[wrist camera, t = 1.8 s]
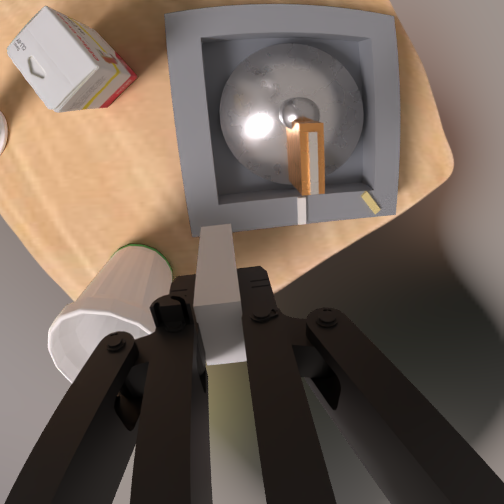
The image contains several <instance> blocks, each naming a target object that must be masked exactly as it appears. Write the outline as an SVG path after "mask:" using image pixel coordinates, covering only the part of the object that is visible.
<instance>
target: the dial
mask: <svg viewBox="0 0 504 504" xmlns="http://www.w3.org/2000/svg"><path fill="white" fill-rule="evenodd" d="M219 113H220V123H221V129H222V132H223V135H224V138H225V141H226V143H227V145H228V147H229V148H230V150H231V152H232V153H233V155H234V156H235V157H236V158H237V159H238V161H239V162H240V163H241V164H242V165H244V166H245V167H246V168H247V169H248V170H250V171H251V172H253V173H254V174H256V175H258V176H260V177H261V178H264V179H266V180H269V181H272V182H276V183H280V184H290V185H292V184H293V186H294V187H295V188H296V189H297V190H298V191H299V193H300V194H301V195H302V196H304V195H315V194H325V177H326V176H328V175H329V174H331V173H333V172H334V171H335V170H337V169H338V168H339V167H340V166H341V165H342V164H343V163H345V162H346V160H347V159H348V158H349V157H350V155H351V154H352V152H353V151H354V149H355V147H356V145H357V143H358V141H359V138H360V135H361V132H362V126H363V114H364V113H363V104H362V99H361V95H360V92H359V89H358V87H357V85H356V83H355V81H354V79H353V78H352V76H351V75H350V73H349V72H348V71H347V69H346V68H345V67H344V66H343V65H342V64H341V63H340V62H339V61H337V60H336V59H335V58H334V57H332V56H331V55H329V54H328V53H326V52H324V51H322V50H320V49H317V48H314V47H311V46H308V45H303V44H293V43H287V44H278V45H273V46H269V47H266V48H264V49H261V50H259V51H257V52H255V53H253V54H252V55H250V56H249V57H247V58H246V59H245V60H244V61H243V62H241V63H240V64H239V65H238V66H237V68H236V69H235V70H234V71H233V73H232V74H231V76H230V77H229V79H228V81H227V82H226V85H225V87H224V89H223V92H222V96H221V100H220V108H219Z"/></svg>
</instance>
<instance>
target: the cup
mask: <svg viewBox="0 0 504 504" xmlns="http://www.w3.org/2000/svg"><path fill="white" fill-rule="evenodd" d="M171 283H172V269H171V266H170V264H169V263H168V261H167V259H166V258H165V257H164V256H163V255H162V254H161V253H160V252H159V251H157V250H156V249H154V248H151V247H149V246H146V245H141V244H129V245H126V246H124V247H122V248H120V249H118V250H117V251H116V252H115V253H114V254H113V255H112V256H111V258H110V259H109V260H108V262H107V263H106V264H105V265H104V266H103V268H102V269H101V270H100V271H99V273H98V274H97V275H96V276H95V277H94V279H93V280H92V281H91V282H90V284H89V285H88V286H87V287H86V289H85V290H84V291H83V292H82V294H81V295H80V296H79V298H78V299H77V300H76V301H75V302H73V303H70V304H67V305H66V306H65V307H64V309H63V310H62V311H61V312H60V313H59V315H58V316H57V317H56V318H55V320H54V322H53V323H52V325H51V327H50V328H49V331H48V332H49V333H48V349H49V352H50V354H51V356H52V359H53V361H54V363H55V365H56V367H57V369H58V370H59V371H60V372H61V373H62V374H63V375H64V376H65V377H66V378H67V379H68V380H69V381H70V382H71V383H73V382H74V380H75V378H76V377H77V375H78V374H79V372H80V371H81V369H82V368H83V366H84V365H85V363H86V362H87V360H88V359H89V357H90V356H91V354H92V353H93V351H94V350H95V348H96V347H97V345H98V344H99V342H100V341H101V340H102V339H103V338H104V337H105V336H107V335H109V334H110V333H113V332H117V331H125V332H128V333H130V334H131V335H132V336H133V337H134V339H137V338H141V337H144V336H147V335H149V334H152V333H153V332H155V329H156V326H155V323H154V320H153V317H152V314H151V311H150V308H149V307H150V306H151V304H152V302H154V301H155V300H156V299H157V298H159V297H162V296H164V295H168V294H169V292H170V286H171Z"/></svg>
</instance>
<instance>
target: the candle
mask: <svg viewBox="0 0 504 504" xmlns="http://www.w3.org/2000/svg"><path fill="white" fill-rule="evenodd" d="M7 136H8V128H7V122H6V119H5V117H4V115H3V113H2V112H1V111H0V155H1V154H2V152H3V150H4V148H5V145H6V142H7Z"/></svg>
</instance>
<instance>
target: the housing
mask: <svg viewBox="0 0 504 504" xmlns="http://www.w3.org/2000/svg"><path fill="white" fill-rule="evenodd" d="M164 17H165V31H166V43H167V54H168V65H169V75H170V85H171V94H172V103H173V111H174V119H175V127H176V135H177V142H178V150H179V157H180V164H181V171H182V177H183V184H184V190H185V197H186V203H187V209H188V215H189V221H190V227H191V233H192V237H199V236H200V232H201V227H206V226H214V225H223V224H231V228H232V232H239V231H248V230H256V229H265V228H273V227H282V226H291V225H302V224H309V223H318V222H327V221H337V220H346V219H356V218H366V217H376V216H387V215H396V204H397V192H398V178H399V158H400V82H399V64H398V50H397V39H396V30H395V21H394V16H390V15H385V14H380V13H374V12H368V11H362V10H355V9H347V8H339V7H329V6H316V5H299V4H249V5H231V6H219V7H209V8H200V9H192V10H185V11H179V12H173V13H167V14H164ZM287 43H293V44H303V45H308V46H311V47H314V48H317V49H320V50H322V51H324V52H326V53H328V54H329V55H331V56H332V57H334V58H335V59H336V60H337V61H339V62H340V63H341V64H342V65H343V66H344V67H345V68H346V69H347V71H348V72H349V73H350V75H351V76H352V78H353V79H354V81H355V83H356V85H357V87H358V89H359V92H360V95H361V99H362V104H363V113H364V114H363V126H362V132H361V135H360V138H359V141H358V143H357V145H356V147H355V149H354V151H353V152H352V154H351V155H350V157H349V158H348V159H347V160H346V162H345V163H343V164H342V165H341V166H340V167H339V168H338V169H337V170H335V171H334V172H333V173H331V174H329V175H328V176H326V177H325V194H315V195H304V196H302V195H301V194H300V193H299V191H298V190H297V189H296V188H295V187H294V186H293V184H292V185H290V184H280V183H276V182H272V181H269V180H266V179H264V178H261V177H260V176H258V175H256V174H254V173H253V172H251V171H250V170H248V169H247V168H246V167H245V166H244V165H242V164H241V163H240V162H239V161H238V159H237V158H236V157H235V156H234V155H233V153H232V152H231V150H230V148H229V147H228V145H227V143H226V141H225V138H224V135H223V132H222V129H221V123H220V113H219V108H220V100H221V96H222V92H223V89H224V87H225V85H226V82H227V81H228V79H229V77H230V76H231V74H232V73H233V71H234V70H235V69H236V68H237V66H238V65H239V64H240V63H241V62H243V61H244V60H245V59H246V58H247V57H249V56H250V55H252V54H253V53H255V52H257V51H259V50H261V49H264V48H266V47H269V46H273V45H278V44H287Z"/></svg>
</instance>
